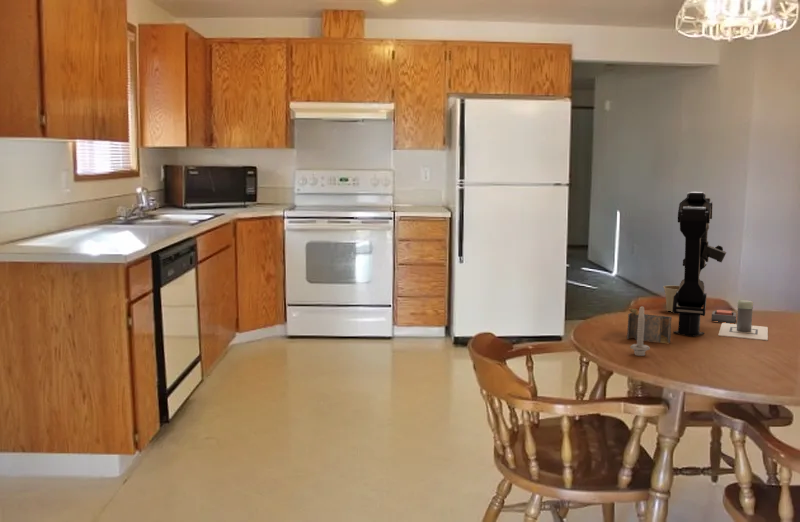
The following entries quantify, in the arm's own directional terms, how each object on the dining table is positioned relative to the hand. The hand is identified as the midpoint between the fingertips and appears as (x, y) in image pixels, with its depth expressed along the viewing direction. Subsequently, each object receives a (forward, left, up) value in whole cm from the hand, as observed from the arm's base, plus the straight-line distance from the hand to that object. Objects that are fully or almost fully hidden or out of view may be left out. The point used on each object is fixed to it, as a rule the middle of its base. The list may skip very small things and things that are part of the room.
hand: (694, 286), depth 224 cm
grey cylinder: (+1, -16, -12) cm, 20 cm away
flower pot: (+14, +14, -12) cm, 23 cm away
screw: (-50, -14, -12) cm, 53 cm away
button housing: (+12, -4, -12) cm, 17 cm away
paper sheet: (+1, -16, -12) cm, 20 cm away
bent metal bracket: (-33, -6, -13) cm, 36 cm away
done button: (+12, -4, -11) cm, 17 cm away
